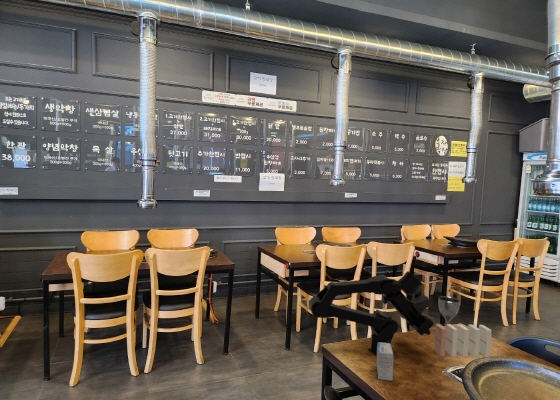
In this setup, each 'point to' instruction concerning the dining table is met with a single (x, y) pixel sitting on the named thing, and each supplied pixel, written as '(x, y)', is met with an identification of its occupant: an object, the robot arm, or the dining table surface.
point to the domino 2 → (451, 340)
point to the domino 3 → (462, 340)
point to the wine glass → (448, 307)
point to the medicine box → (384, 361)
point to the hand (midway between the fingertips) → (429, 333)
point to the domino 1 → (440, 340)
